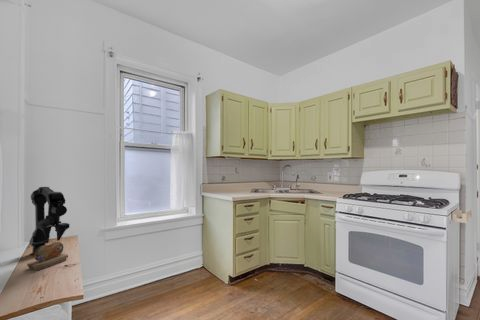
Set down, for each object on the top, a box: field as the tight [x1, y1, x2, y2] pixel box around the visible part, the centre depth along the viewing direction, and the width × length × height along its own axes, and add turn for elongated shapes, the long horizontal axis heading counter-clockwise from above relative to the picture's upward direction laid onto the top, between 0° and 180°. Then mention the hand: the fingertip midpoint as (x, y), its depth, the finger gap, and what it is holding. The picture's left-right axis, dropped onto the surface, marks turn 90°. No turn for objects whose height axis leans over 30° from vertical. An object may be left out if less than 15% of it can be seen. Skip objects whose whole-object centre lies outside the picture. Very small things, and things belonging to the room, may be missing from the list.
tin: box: [33, 241, 64, 261], centre depth 139 cm, size 15×3×8 cm, turn 165°
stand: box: [26, 253, 69, 271], centre depth 139 cm, size 8×17×3 cm, turn 165°
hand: (52, 239), depth 144 cm, fingers open, 9 cm apart
